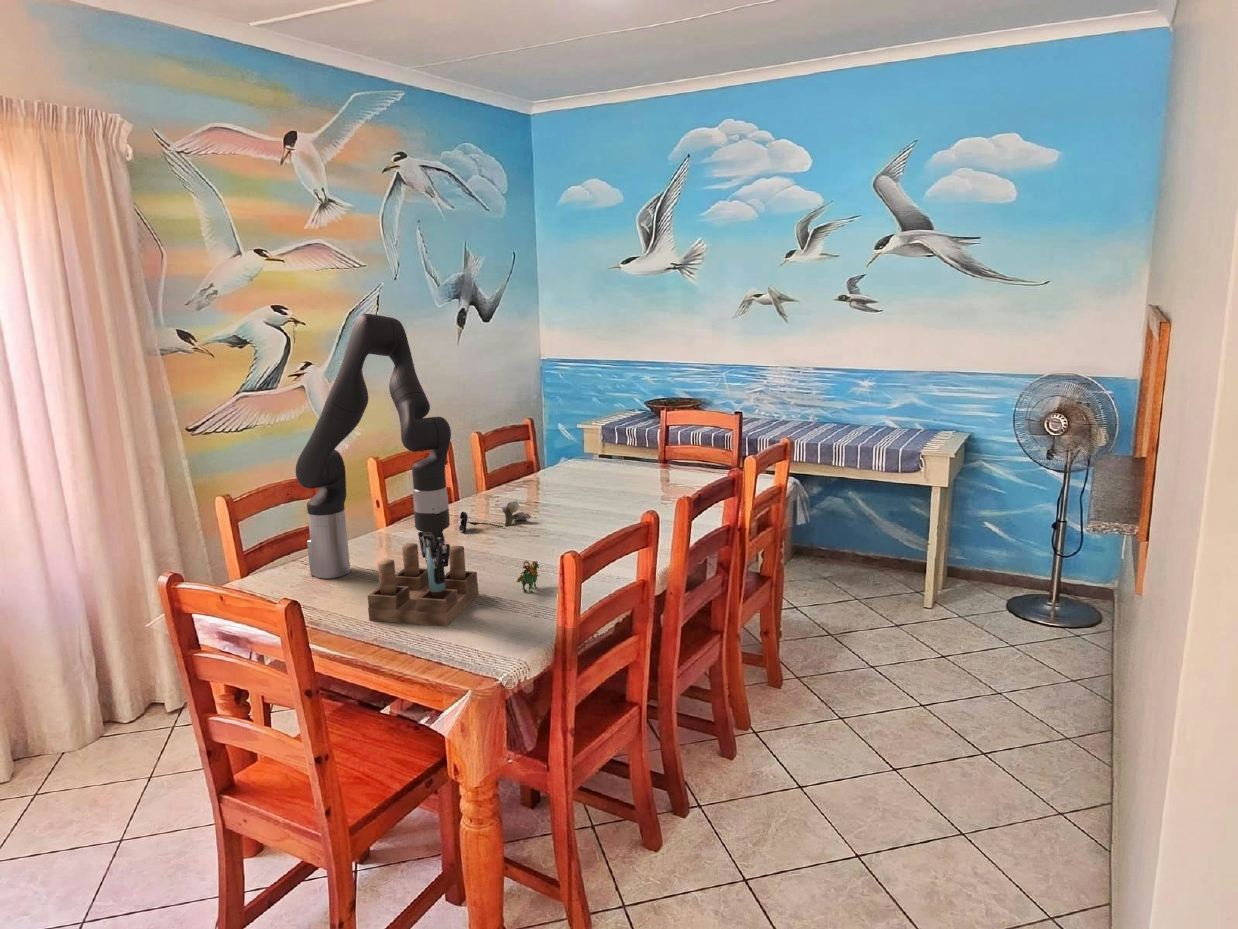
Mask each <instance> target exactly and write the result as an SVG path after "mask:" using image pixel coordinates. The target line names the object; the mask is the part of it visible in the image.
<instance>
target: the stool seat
mask: <svg viewBox="0 0 1238 929" xmlns="http://www.w3.org/2000/svg"><path fill="white" fill-rule="evenodd" d="M401 546H402V558H403V569H402V570H400V571H399V572H398V573H396V564H395V560H394V559H389V558H388V559H382V560H379V561H378V562H377V566H378V568H377V570H378V580H379V586H378V587H377V588H376V589H375V590H373V591H372V592H370V593H369V594H368V595H367V602H368V604H367V605H368V607H367V610H368V620H369V621H371V622H372V621H373V622H374V621H375V622H389V623H399V624H411V625H424V626H426V625H427V626H437V627H438V626H439V627H447V626H449V625H450V624H451V623H452V622H453V621H454V620H455V619H456V618H457V617H458V616H459V615H460V614H461V613H462V612H463V611H464V610H465V609H466V608H467V607H468V606H469V605H470V604H471V603H472V602H473V601H474V600H475V599H476V598H477V597H478V596H480V595H479V583H478V572H477V571H469V570H466V559H465V556H466V555H465V547H464V546H463V545H452V546H450V551H449V571H448V572H447V573H446V574H445V590H443V591H441V592H431V591H429V580H428V572H427V568H421V567H420V562H419V561H420V560H419V559H420V558H419V545H418V544H417V543H415V542H411V543H409V542H408V543H406V544H402V545H401Z"/></svg>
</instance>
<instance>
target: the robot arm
mask: <svg viewBox="0 0 1238 929" xmlns="http://www.w3.org/2000/svg"><path fill="white" fill-rule="evenodd" d="M350 331H351V332H350V335H349V338H348V342H347V343H346V344H347V345H346V348H345V352H344V355H343V359H342V361H341V365H340V367H339V369H338V371H337V375H336V377H335V379H334V382H333V384H332V386H331V388H330V390H329V392H328V395H327V396H326V397H327V398H326V400H325V402H324V406H323V408H322V410H321V413H320V416H319V418H318V420H317V422H316V423H315V427H314V429H313V431H312V433H311V435H310V437H309V439H308V441H307V443H306V444H305V446H304V447H303V450H302V451H301V453H300V454H299V457H298V458H297V460H296V464H295V475H296V476H295V478H296V480H297V482H298V484H300V486H301V487H303V488H305V489H318V490H317V491H316V493H314V495H313V496H312V497H311V498H310V499H309V500H308V501H307V503H306V511H307V512H306V513H307V521H308V530H309V539H308V540H306V541H307V542H306V543H307V553H308V554H307V555H308V563H309V573H310V576H312V575H314V576H313V577H315V578H318V579H335V578H336V579H337V578H341V577H343V576H345V575H348V574H349V573H350V572H351V562H350V553H349V552H350V551H349V550H350V548H349V540H348V529H347V520H346V511H345V503H346V499H347V481H346V480H347V478H346V466H345V461H344V459H343V456H342V455H341V454H340V452H339V451H338V450H336V448H337V447H338V446H339V445H340V444H341V443H342V442H343V441H344V440H345V439H346V438H347V437H348V436H349V435H350V434H351V433H352V432H353V431H354V429H355V428H356V427H357V426H358V425H359V423H360V421H361V420H362V418H363V415H364V413H365V411H366V408H367V407H368V403H369V393H368V392H369V391H368V389H367V384H366V382H365V378H364V374H363V368H364V364H365V362H366V361H365V360H366V358H367V356H368V355H375V356H383V357H389V358H390V359H391V361H392V363H393V366H394V368H393V371H392V374H391V376H390V379H389V386H388V388H389V389H388V390H389V394H390V397H391V400H392V401H393V404H394V407H395V408H396V411H397V413H398V419H399V424H400V437H401V438H400V439H401V443H402V446H404V448H405V449H406V450H408V451H410V452H415V453H416V452H418V453H419V452H425V451H430V452H429V455H428V456H427V457H425V458H423V459H421V460H419V461H418V460H417V462H415V463H413V464H412V468H411V470H412V471H411V472H412V484H413V486H412V487H413V493H412V497H413V498H412V501H413V514H414V527H415V529H416V530H417V531H419V532H417V535H418V540H419V544H420V550H421V556H422V558H423V559H424V561H425V563H426V564H427V553H426V547H428V549H429V556H430V558H431V559H432V561H433V567H434V568H433V569H434V582H435V583H436V584H441V583H444V582H445V575H446V574H445V568H447V567H449V563H450V561H449V551H450V547H451V546H450V544H449V543H446V538H445V535H444V531H445V529H447V528H449V527H450V524H451V523H450V508H449V497H448V491H447V482H446V480H447V479H446V463H447V458H448V453H449V452H448V451H449V449H450V443H451V439H452V430H451V426H450V424H449V422H448V421H447V420H446V419H445V418H444V417H442V416H429V417H426V416H427V415H428V414H429V412H430V411H431V410H430V409H431V404H430V402H429V399H428V397H427V396H426V392H425V391H424V389H423V387H422V385H421V383H420V380H419V378H418V375H417V371H416V369H415V364H414V361H413V360H414V359H413V357H412V351H411V348H410V344H409V341H408V340H409V339H408V337H407V333H406V330H405V328H404V326H403V324H402V322H401V321H400V320H398V319H397V318H394V317H390V316H386V315H379V314H373V313H362V314H360V315H359V316H358V317H357V319H356V320H355V321H354V324H353V326H352V328H351V330H350ZM436 552H437V554H433V553H436ZM440 561H441V562H440ZM426 567H427V568H426V569H427V572H428V566H427V565H426ZM444 574H445V575H444Z"/></svg>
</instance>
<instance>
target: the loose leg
mask: <svg viewBox="0 0 1238 929" xmlns="http://www.w3.org/2000/svg"><path fill="white" fill-rule="evenodd" d="M426 553H427V563H426V567H427V566H428V580H429V591H431V592H441V591H443V590H445V582H444V583H441V584H436V583H435V582H434V569H433V568H434V567H433V561H432V559H431V558H430V556H429V549H428V547H426ZM433 554H437V552H436V553H433ZM440 562H441V561H440ZM444 575H446V574H445V573H444Z"/></svg>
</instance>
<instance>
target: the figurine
mask: <svg viewBox="0 0 1238 929" xmlns="http://www.w3.org/2000/svg"><path fill="white" fill-rule="evenodd" d="M539 565H540V564H539V562H538V561H537V560H533V561H532V563H531V564H530V561H527V560H524V561H523V566H522V568H523V569H524V570H523V571H522V572H520V575H519V576H518V578H517V580H516V582H515V583H520V582H521V585H522V591H523V593H525V592H528V594H530V593H534V591H533V590H531V588H533V587H534V589H537V588H538V587H537V584H536V583H537V579H538V577H540V574H538V569H539V568H540V567H539ZM527 584H528V590H529V591H528V590H526V588H525V587H526V585H527Z"/></svg>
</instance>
